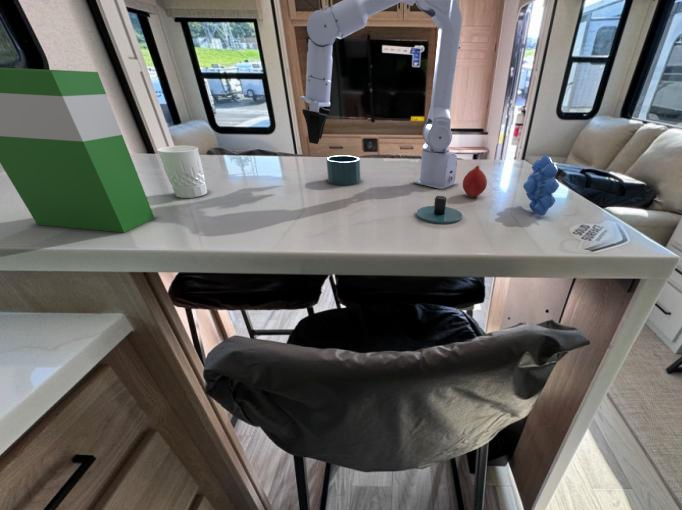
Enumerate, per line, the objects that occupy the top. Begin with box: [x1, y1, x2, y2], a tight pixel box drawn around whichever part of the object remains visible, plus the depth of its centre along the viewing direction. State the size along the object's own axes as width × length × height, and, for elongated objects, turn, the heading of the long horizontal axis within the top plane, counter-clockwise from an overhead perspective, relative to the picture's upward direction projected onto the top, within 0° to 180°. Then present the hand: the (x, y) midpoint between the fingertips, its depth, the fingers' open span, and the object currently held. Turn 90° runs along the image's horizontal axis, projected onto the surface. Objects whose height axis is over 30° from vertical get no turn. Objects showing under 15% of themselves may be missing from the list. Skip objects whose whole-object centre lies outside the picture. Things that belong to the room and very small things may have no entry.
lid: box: [415, 195, 463, 225], centre depth 71 cm, size 10×10×4 cm
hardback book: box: [0, 67, 155, 233], centre depth 57 cm, size 18×7×24 cm, turn 82°
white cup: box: [156, 145, 208, 199], centre depth 77 cm, size 8×8×10 cm
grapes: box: [522, 155, 560, 217], centre depth 74 cm, size 12×7×12 cm, turn 4°
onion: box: [462, 165, 488, 198], centre depth 82 cm, size 6×6×8 cm
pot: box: [326, 155, 361, 186], centre depth 92 cm, size 9×9×6 cm
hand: (315, 140), depth 86 cm, fingers open, 7 cm apart
